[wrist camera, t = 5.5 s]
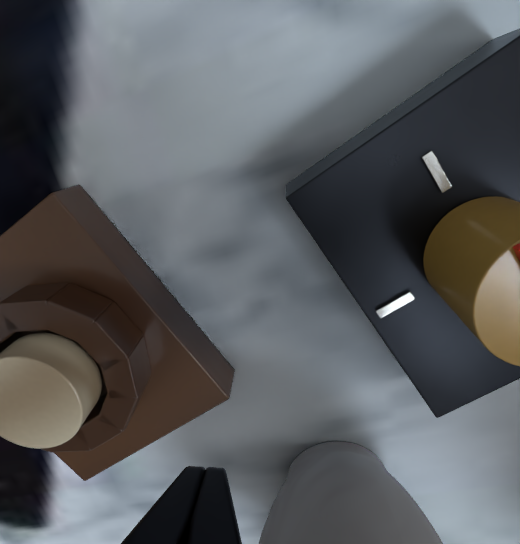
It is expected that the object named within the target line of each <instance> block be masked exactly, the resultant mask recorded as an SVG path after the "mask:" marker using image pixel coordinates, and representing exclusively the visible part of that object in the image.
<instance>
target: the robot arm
mask: <svg viewBox="0 0 520 544" xmlns="http://www.w3.org/2000/svg"><path fill="white" fill-rule="evenodd" d="M121 544H242V542H241V538H240V533H239V529H238V524H237V519H236V515H235V510H234V506H233V501H232V497H231V492H230V487H229V483H228V478H227V474H226V470H225V469H224V468H216V467H208V468H207V469H205V468H204V467H195V466H188V467H186V468H185V469H184V470H183V471H182V472H181V473H180V475H179V476H178V477H177V478H176V479H175V480H174V482H173V483H172V484H171V485H170V486H169V488H168V489H167V490H166V491H165V492H164V493H163V495H162V496H161V497H160V498H159V499H158V500H157V502H156V503H155V504H154V505H153V506H152V508H151V509H150V510H149V511H148V512H147V513H146V515H145V516H144V517H143V518H142V519H141V521H140V522H139V523H138V524H137V525H136V526H135V528H134V529H133V530H132V531H131V532H130V533H129V535H128V536H127V537H126V538H125V539H124V541H123V542H122V543H121Z"/></svg>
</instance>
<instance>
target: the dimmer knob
mask: <svg viewBox="0 0 520 544" xmlns="http://www.w3.org/2000/svg"><path fill="white" fill-rule="evenodd" d="M423 261H424V271H425V274H426V277H427V280H428V282H429V284H430V285H431V287H432V288H433V290H434V291H435V292H436V293H437V294H438V295H439V296H440V297H441V299H442V300H443V301H444V302H445V303H446V304H447V305H448V306H449V307H450V309H451V310H452V311H453V312H454V313H455V314H456V315H457V316H458V317H459V319H460V320H461V321H462V322H463V323H464V324H465V325H466V326H467V327H468V329H469V330H470V331H471V332H472V333H473V334H474V335H475V336H476V337H477V339H478V340H479V341H480V342H481V343H482V344H483V345H484V346H485V347H486V348H487V349H488V350H489V351H490V352H491V353H492V354H493V355H495V356H496V357H497V358H499V359H501V360H503V361H505V362H507V363H510V364H513V365H516V366H520V202H519V201H516V200H513V199H510V198H506V197H497V196H494V197H482V198H478V199H474V200H471V201H468V202H466V203H463V204H462V205H460V206H458V207H456V208H455V209H453V210H452V211H450V212H449V213H448V214H447V215H446V216H444V217H443V218H442V219H441V220H440V222H439V223H438V224H437V225H436V227H435V228H434V229H433V231H432V233H431V234H430V236H429V238H428V241H427V243H426V247H425V251H424V258H423Z"/></svg>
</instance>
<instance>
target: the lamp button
mask: <svg viewBox="0 0 520 544" xmlns="http://www.w3.org/2000/svg"><path fill="white" fill-rule="evenodd" d="M101 390H102V379H101V374H100V371H99V368H98V366H97V364H96V363H95V361H94V360H93V358H92V357H91V356H90V355H89V354H88V353H87V351H85V350H84V349H83V348H82V347H81V346H79V345H78V344H77V343H75V342H73V341H72V340H69V339H67V338H65V337H62V336H59V335H55V334H50V333H35V334H29V335H26V336H23V337H21V338H19V339H17V340H16V341H14V342H13V343H12V344H11V345H9V346H8V347H7V348H6V349H5V350H3V351H2V352H1V353H0V436H1V437H3V438H5V439H7V440H8V441H10V442H13V443H15V444H18V445H21V446H25V447H29V448H51V447H55V446H58V445H61V444H63V443H65V442H67V441H68V440H70V439H71V438H72V437H73V436H74V435H75V434H76V433H77V432H78V430H79V429H80V427H81V426H82V424H83V423H84V421H85V420H86V418H87V417H88V415H89V414H90V412H91V411H92V409H93V408H94V406H95V405H96V403H97V402H98V400H99V398H100V395H101Z"/></svg>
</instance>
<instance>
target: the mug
mask: <svg viewBox="0 0 520 544" xmlns="http://www.w3.org/2000/svg"><path fill="white" fill-rule="evenodd" d="M259 544H443V543H442V541H441V539H440V538H439V536H438V534H437V533H436V531H435V529H434V528H433V526H432V525H431V523H430V522H429V520H428V519H427V517H426V516H425V514H424V513H423V511H422V510H421V509H420V507H419V506H418V505H417V503H416V502H415V501H414V500H413V498H412V497H411V496H410V494H409V493H408V492H407V491H406V490H405V489H404V488H403V486H402V485H401V484H400V483H399V482H398V481H397V480H396V479H395V478H394V477H393V476H392V475H391V474H390V473H389V472H388V471H387V470H386V468H385V467H384V465H383V464H382V462H381V461H380V459H379V458H378V457H377V456H376V455H375V454H374V453H372V452H371V451H370V450H368V449H366V448H364V447H362V446H360V445H357V444H353V443H349V442H341V441H334V442H325V443H321V444H318V445H315V446H312V447H310V448H308V449H306V450H305V451H303V452H302V453H301V454H299V455H298V456H297V457H296V459H295V460H294V461H293V463H292V464H291V466H290V468H289V471H288V474H287V478H286V480H285V482H284V484H283V486H282V488H281V489H280V491H279V493H278V495H277V497H276V499H275V501H274V503H273V505H272V507H271V509H270V512H269V514H268V517H267V520H266V522H265V525H264V528H263V531H262V534H261V538H260V541H259Z"/></svg>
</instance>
